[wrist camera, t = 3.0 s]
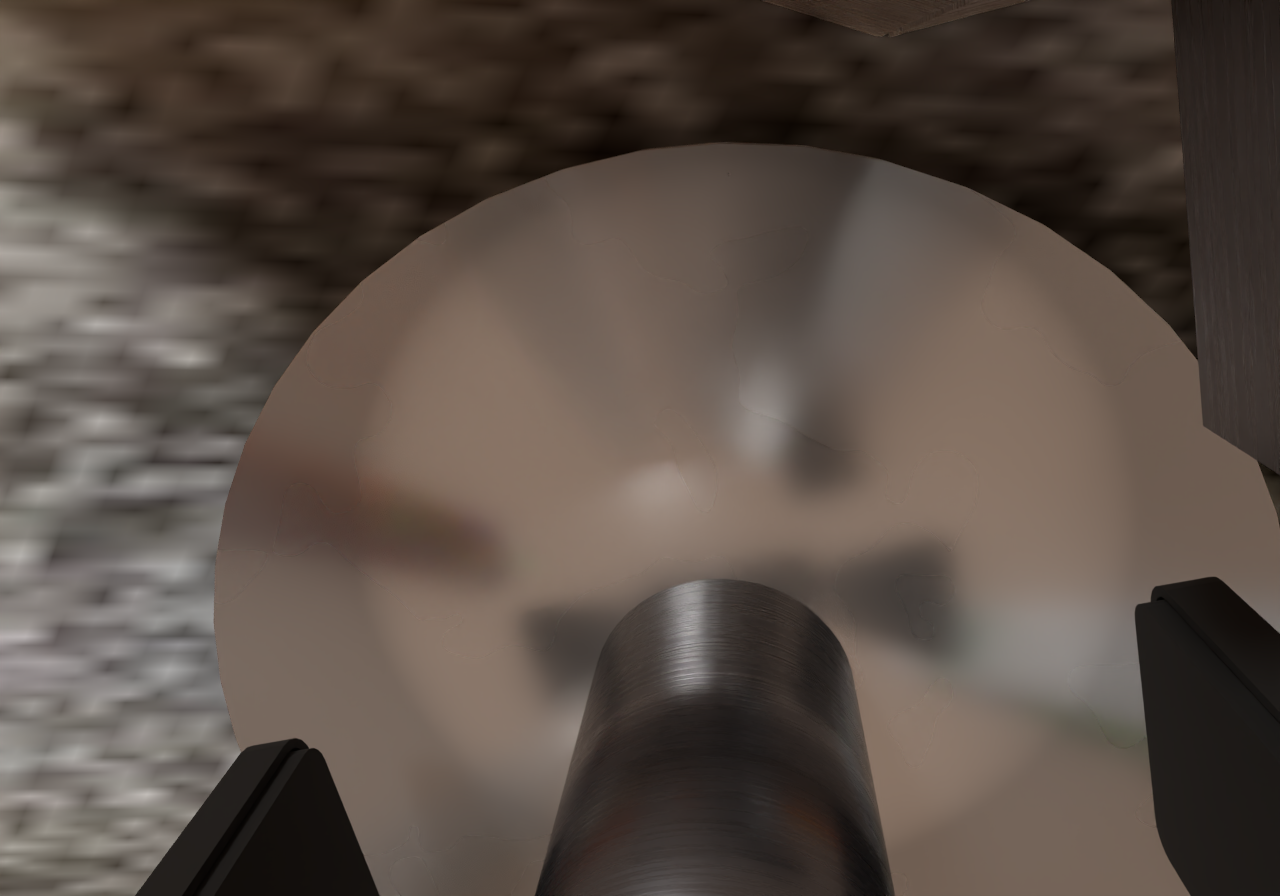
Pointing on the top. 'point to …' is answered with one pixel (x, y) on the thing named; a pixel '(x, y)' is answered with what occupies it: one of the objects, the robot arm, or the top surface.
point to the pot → (1195, 189)
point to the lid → (732, 541)
